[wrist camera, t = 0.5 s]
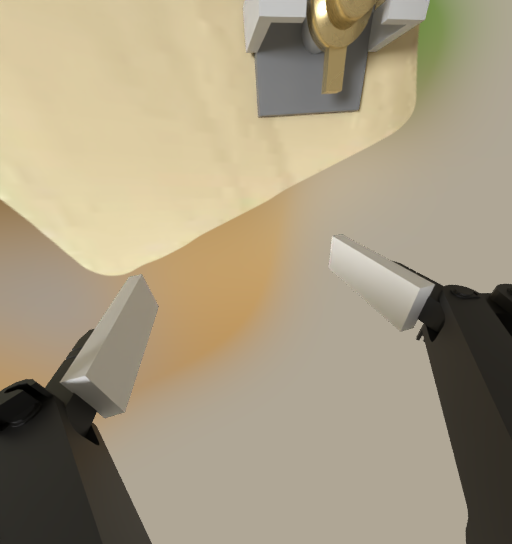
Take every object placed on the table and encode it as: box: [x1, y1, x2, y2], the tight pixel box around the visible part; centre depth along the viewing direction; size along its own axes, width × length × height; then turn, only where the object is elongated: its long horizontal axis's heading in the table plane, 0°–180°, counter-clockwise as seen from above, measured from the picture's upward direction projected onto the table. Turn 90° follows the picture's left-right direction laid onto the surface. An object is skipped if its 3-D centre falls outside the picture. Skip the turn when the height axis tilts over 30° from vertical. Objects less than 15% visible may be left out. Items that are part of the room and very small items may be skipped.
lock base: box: [243, 0, 430, 117], centre depth 24 cm, size 18×21×9 cm
